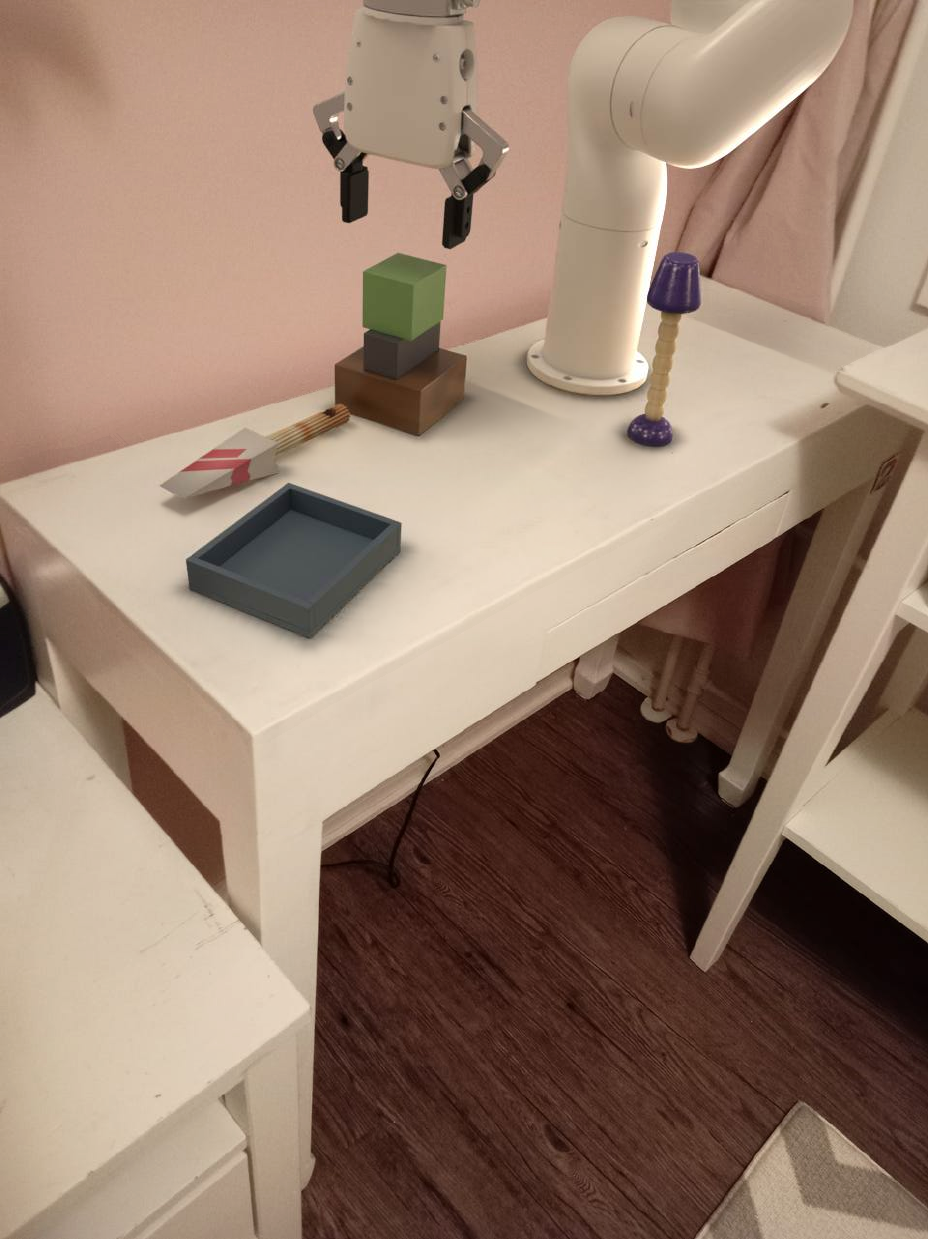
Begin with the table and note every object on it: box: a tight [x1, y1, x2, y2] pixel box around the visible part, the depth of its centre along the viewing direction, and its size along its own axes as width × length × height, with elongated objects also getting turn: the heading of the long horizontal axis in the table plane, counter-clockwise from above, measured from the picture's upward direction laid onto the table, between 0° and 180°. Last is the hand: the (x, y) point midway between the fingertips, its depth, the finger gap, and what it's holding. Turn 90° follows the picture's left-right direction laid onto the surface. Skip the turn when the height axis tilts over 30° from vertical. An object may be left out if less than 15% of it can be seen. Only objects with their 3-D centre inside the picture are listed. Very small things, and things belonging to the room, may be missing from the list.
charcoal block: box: [363, 320, 442, 380], centre depth 89 cm, size 8×4×4 cm, turn 153°
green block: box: [361, 252, 447, 341], centre depth 86 cm, size 6×5×5 cm
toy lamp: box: [626, 251, 702, 447], centre depth 87 cm, size 5×5×17 cm
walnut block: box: [334, 345, 468, 437], centre depth 92 cm, size 9×9×4 cm
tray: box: [185, 482, 402, 639], centre depth 71 cm, size 12×10×3 cm
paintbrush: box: [158, 404, 351, 500], centre depth 82 cm, size 4×3×20 cm
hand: (403, 231), depth 83 cm, fingers open, 9 cm apart
